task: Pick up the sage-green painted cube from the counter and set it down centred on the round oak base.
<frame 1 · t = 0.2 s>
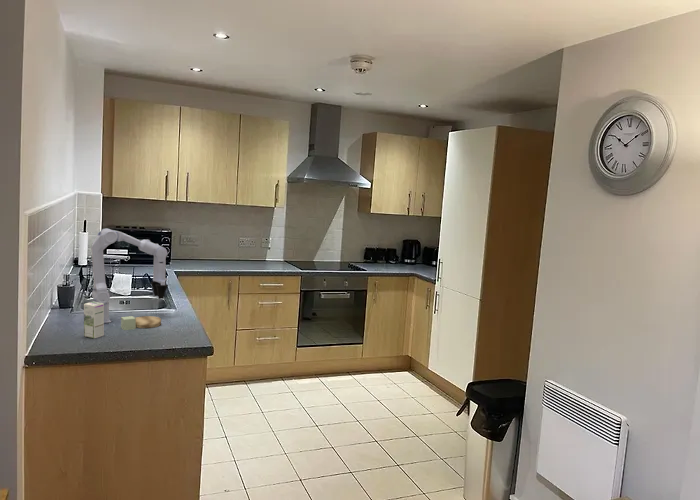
hand: (158, 297, 268), 10 cm above the countertop, tool pointing down, fingers open, 7 cm apart
syrup box: (93, 336, 230), on the countertop
cube: (128, 328, 245), on the countertop
base: (146, 324, 253), on the countertop
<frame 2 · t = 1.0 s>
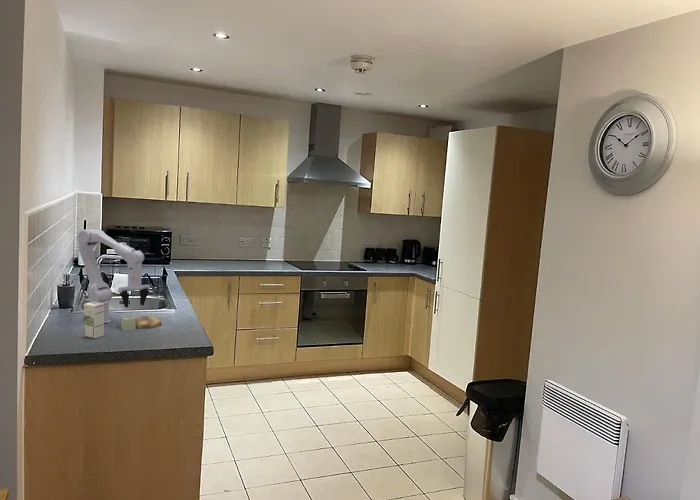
hand: (134, 306, 248), 10 cm above the countertop, tool pointing down, fingers open, 7 cm apart
nothing on the countertop moved.
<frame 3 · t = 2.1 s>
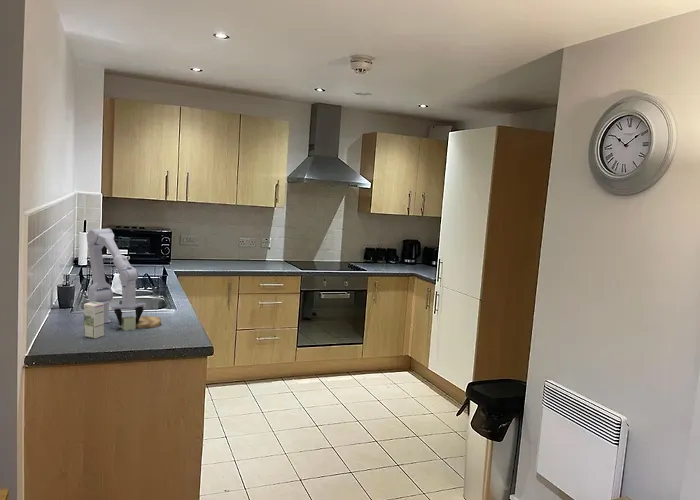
hand: (128, 324, 245), 2 cm above the countertop, tool pointing down, fingers open, 7 cm apart
nothing on the countertop moved.
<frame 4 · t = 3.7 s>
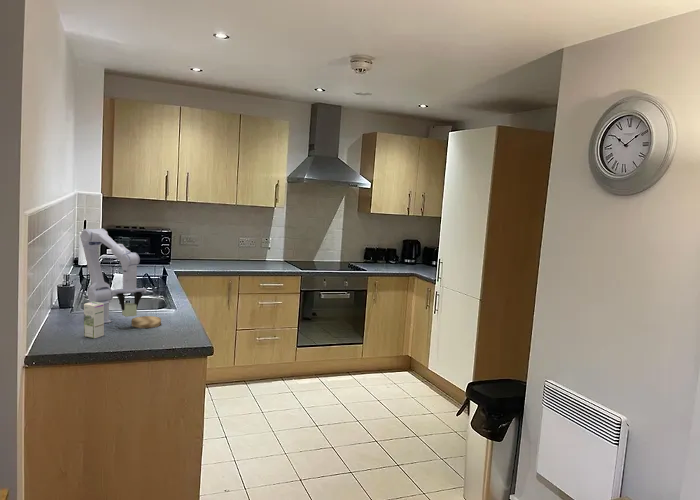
hand: (129, 309, 244), 9 cm above the countertop, tool pointing down, fingers closed on cube, 5 cm apart
cube: (129, 315, 245), point 6 cm above the countertop, touching gripper
everything else where it was.
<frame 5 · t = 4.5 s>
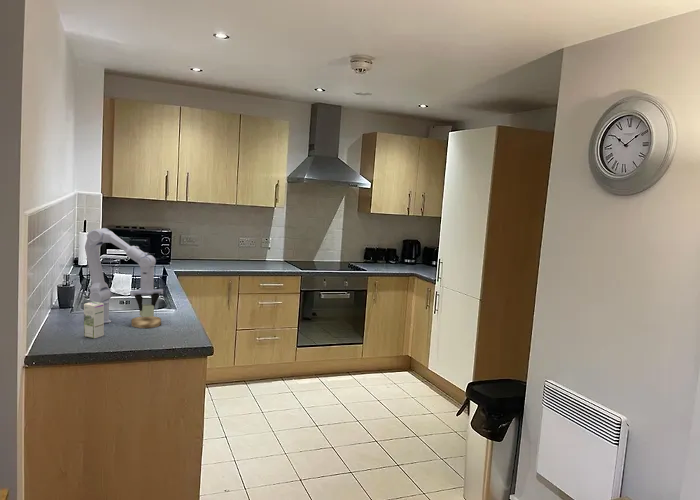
hand: (146, 309, 252), 7 cm above the countertop, tool pointing down, fingers closed on cube, 5 cm apart
cube: (146, 315, 252), point 4 cm above the countertop, touching gripper
everything else where it was.
when the fingers open (5 cm above the countertop, at t = 5.3 s): cube stays where it is, resting on base.
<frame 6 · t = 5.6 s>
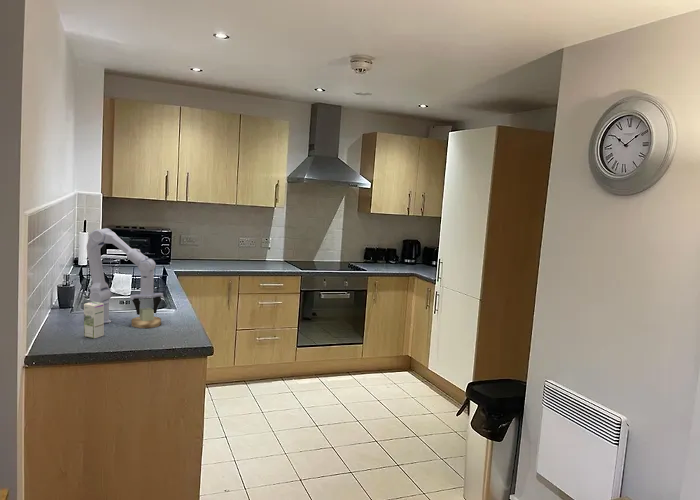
hand: (146, 313, 252), 5 cm above the countertop, tool pointing down, fingers open, 7 cm apart
cube: (146, 319, 252), point 2 cm above the countertop, touching base
everything else where it was.
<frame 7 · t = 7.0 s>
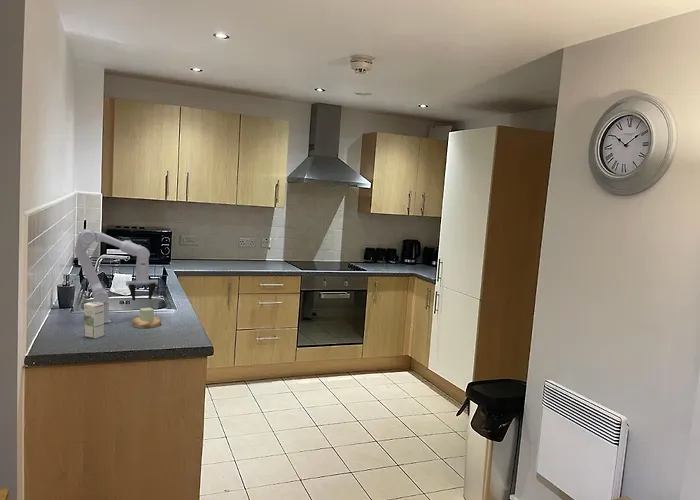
hand: (141, 299, 261), 10 cm above the countertop, tool pointing down, fingers open, 7 cm apart
nothing on the countertop moved.
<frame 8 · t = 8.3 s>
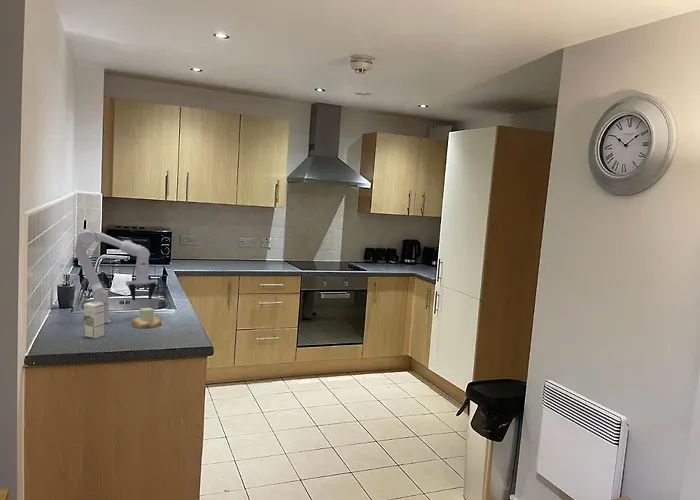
hand: (141, 299, 261), 10 cm above the countertop, tool pointing down, fingers open, 7 cm apart
nothing on the countertop moved.
at the end: cube inside the target area on the base (0.1 cm from its centre), point 2.5 cm above the base's base; cube tilted 0°; the gripper is holding nothing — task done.
